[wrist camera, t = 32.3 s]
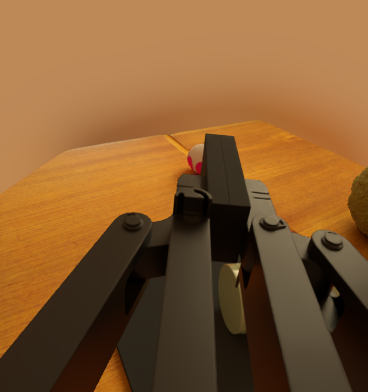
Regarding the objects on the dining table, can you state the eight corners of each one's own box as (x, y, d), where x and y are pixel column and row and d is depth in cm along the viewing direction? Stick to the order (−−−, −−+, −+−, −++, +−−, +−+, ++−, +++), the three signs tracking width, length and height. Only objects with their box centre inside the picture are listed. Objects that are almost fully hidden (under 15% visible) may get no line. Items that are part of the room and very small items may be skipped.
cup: (247, 326, 27) (366, 312, 29) (230, 253, 30) (337, 246, 33) (226, 340, 32) (328, 327, 34) (214, 277, 36) (306, 269, 38)
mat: (160, 474, 22) (160, 471, 22) (97, 291, 35) (97, 287, 35) (342, 360, 31) (344, 357, 30) (237, 247, 44) (238, 243, 44)
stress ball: (182, 181, 65) (170, 162, 60) (206, 154, 66) (195, 133, 61) (209, 196, 60) (197, 176, 55) (233, 166, 62) (224, 145, 57)
